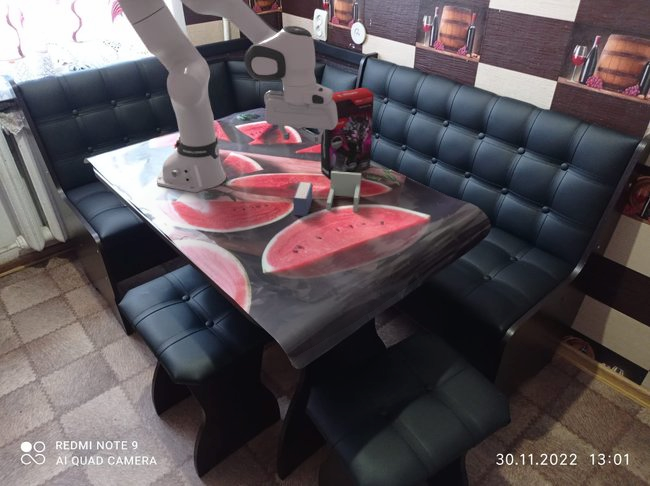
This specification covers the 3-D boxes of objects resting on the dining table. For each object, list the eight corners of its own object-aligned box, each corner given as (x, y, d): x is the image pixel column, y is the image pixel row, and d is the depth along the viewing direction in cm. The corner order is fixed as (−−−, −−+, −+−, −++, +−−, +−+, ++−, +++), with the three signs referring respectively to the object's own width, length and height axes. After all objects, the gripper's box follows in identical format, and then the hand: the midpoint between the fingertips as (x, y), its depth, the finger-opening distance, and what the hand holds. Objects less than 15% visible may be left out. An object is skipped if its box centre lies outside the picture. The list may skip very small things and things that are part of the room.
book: (293, 215, 145) (293, 197, 142) (299, 198, 153) (299, 181, 150) (306, 216, 145) (306, 198, 141) (312, 199, 153) (312, 182, 149)
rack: (326, 209, 148) (326, 186, 143) (330, 193, 156) (331, 171, 151) (357, 212, 147) (358, 189, 142) (359, 195, 155) (361, 173, 150)
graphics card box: (328, 180, 163) (330, 101, 147) (318, 172, 168) (319, 94, 152) (370, 169, 170) (376, 92, 154) (359, 161, 175) (364, 86, 159)
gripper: (259, 93, 129) (264, 141, 137) (333, 99, 125) (333, 148, 133) (267, 86, 134) (271, 133, 142) (339, 91, 129) (339, 139, 138)
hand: (302, 140), depth 137 cm, fingers open, 8 cm apart
